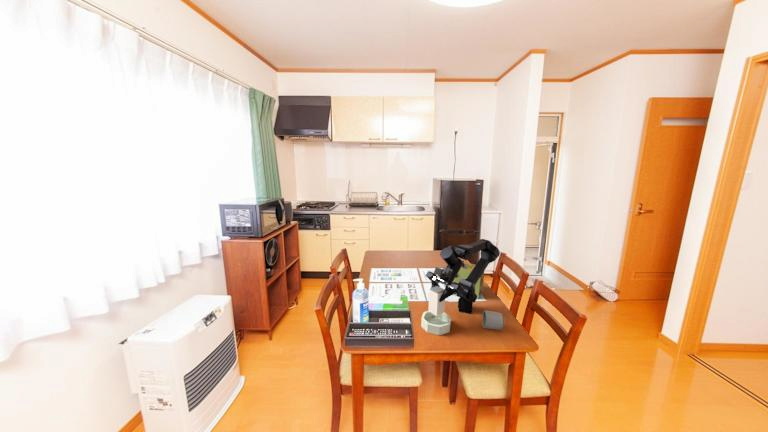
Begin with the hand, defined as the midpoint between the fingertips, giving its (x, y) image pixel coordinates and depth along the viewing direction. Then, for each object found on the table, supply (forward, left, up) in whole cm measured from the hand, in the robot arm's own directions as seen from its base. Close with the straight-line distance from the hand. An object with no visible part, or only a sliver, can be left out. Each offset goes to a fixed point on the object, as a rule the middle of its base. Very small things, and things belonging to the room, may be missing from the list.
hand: (434, 299), depth 117 cm
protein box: (-13, -40, -14) cm, 44 cm away
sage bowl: (-1, -1, -13) cm, 13 cm away
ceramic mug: (-25, -10, -14) cm, 30 cm away
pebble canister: (-1, -1, -7) cm, 7 cm away
